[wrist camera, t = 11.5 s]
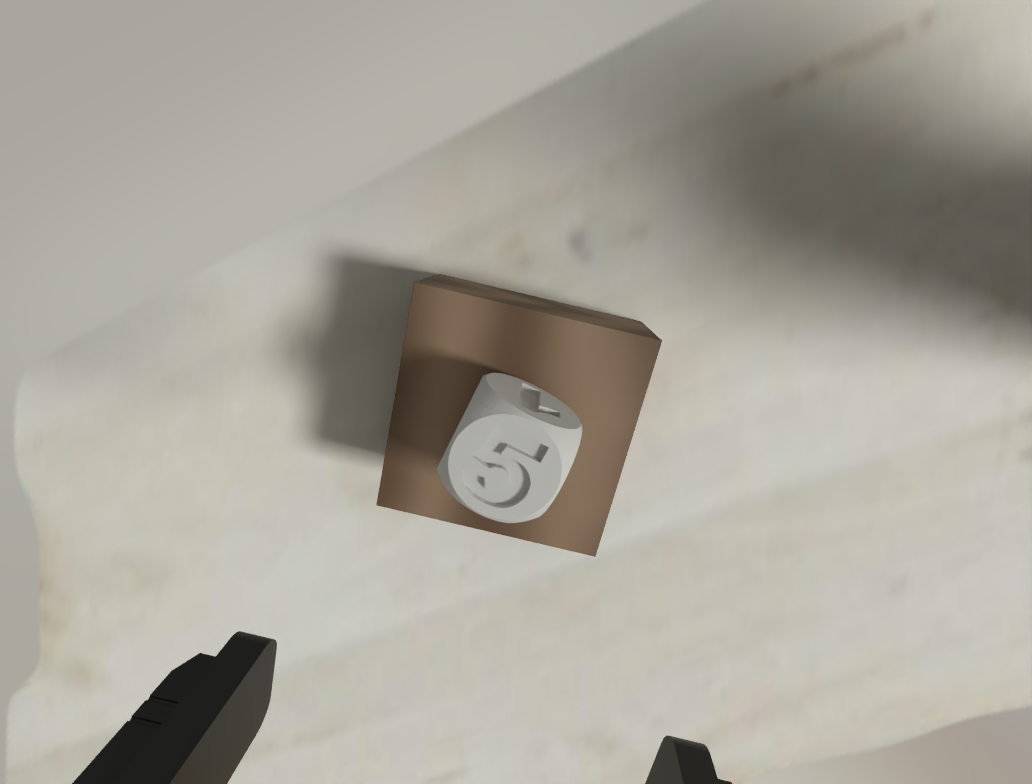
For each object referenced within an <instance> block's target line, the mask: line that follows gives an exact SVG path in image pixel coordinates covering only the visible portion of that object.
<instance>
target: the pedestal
mask: <svg viewBox="0 0 1032 784" xmlns="http://www.w3.org/2000/svg"><path fill="white" fill-rule="evenodd" d="M661 342H662V340H661V339H660V338H658V337H657V336H656V335H655V334H654V333H653V332H652V331H651V330H650V329H649V328H648V327H647V326H645V325H644V324H643V323H642V322H640V321H636V320H631V319H627V318H623V317H619V316H614V315H610V314H606V313H602V312H598V311H593V310H589V309H585V308H581V307H576V306H572V305H568V304H564V303H559V302H555V301H551V300H547V299H543V298H538V297H534V296H530V295H526V294H521V293H517V292H513V291H509V290H504V289H500V288H496V287H492V286H488V285H483V284H479V283H475V282H471V281H466V280H462V279H458V278H454V277H449V276H445V275H441V274H439V275H435V276H432V277H429V278H426V279H423V280H420V281H417V282H414V288H413V294H412V299H411V305H410V311H409V317H408V323H407V329H406V335H405V341H404V347H403V352H402V358H401V364H400V370H399V376H398V382H397V388H396V394H395V400H394V405H393V411H392V417H391V423H390V429H389V435H388V441H387V447H386V452H385V458H384V464H383V470H382V476H381V482H380V488H379V494H378V500H377V505H378V506H383V507H387V508H391V509H395V510H400V511H404V512H408V513H412V514H417V515H421V516H425V517H429V518H434V519H438V520H442V521H446V522H451V523H455V524H459V525H463V526H468V527H472V528H476V529H480V530H485V531H489V532H493V533H497V534H502V535H506V536H510V537H514V538H519V539H523V540H527V541H531V542H536V543H540V544H544V545H548V546H553V547H557V548H561V549H565V550H570V551H574V552H578V553H582V554H587V555H591V556H596V553H597V549H598V546H599V543H600V540H601V537H602V533H603V530H604V527H605V524H606V520H607V517H608V514H609V511H610V507H611V504H612V501H613V498H614V494H615V491H616V488H617V485H618V482H619V478H620V475H621V472H622V469H623V465H624V462H625V459H626V456H627V452H628V449H629V446H630V443H631V439H632V436H633V433H634V430H635V427H636V423H637V420H638V417H639V414H640V410H641V407H642V404H643V401H644V397H645V394H646V391H647V388H648V384H649V381H650V378H651V375H652V371H653V368H654V365H655V362H656V359H657V355H658V352H659V349H660V346H661ZM490 373H502V374H506V375H510V376H513V377H516V378H519V379H521V380H524V381H526V382H529V383H531V384H533V385H535V386H537V387H539V388H541V389H543V390H544V391H546V392H548V393H549V394H551V395H553V396H554V397H556V398H557V399H559V400H560V401H561V402H563V403H564V404H565V405H567V406H568V407H569V408H570V409H571V410H572V411H573V412H574V413H575V414H576V415H577V416H578V418H579V419H580V422H581V425H582V436H581V441H580V445H579V448H578V451H577V454H576V457H575V459H574V462H573V464H572V467H571V469H570V471H569V473H568V475H567V477H566V479H565V481H564V483H563V485H562V487H561V489H560V491H559V493H558V494H557V496H556V497H555V499H554V501H553V502H552V504H551V505H550V506H549V508H548V509H547V510H546V511H545V512H544V514H542V515H541V516H540V517H538V518H535V519H532V520H529V521H525V522H518V523H505V522H499V521H495V520H492V519H489V518H486V517H484V516H482V515H479V514H477V513H475V512H474V511H472V510H470V509H468V508H467V507H465V506H464V505H463V504H461V503H460V502H459V501H457V500H456V499H455V498H454V497H453V496H452V495H451V494H450V493H449V492H448V491H447V489H446V488H445V487H444V485H443V484H442V481H441V479H440V477H439V474H438V472H437V467H438V465H439V463H440V461H441V459H442V457H443V455H444V453H445V451H446V449H447V447H448V445H449V443H450V441H451V439H452V437H453V435H454V433H455V431H456V429H457V427H458V425H459V423H460V421H461V419H462V417H463V415H464V413H465V411H466V409H467V407H468V405H469V403H470V401H471V399H472V397H473V395H474V393H475V391H476V389H477V387H478V385H479V383H480V381H481V379H482V377H483V375H487V374H490Z"/></svg>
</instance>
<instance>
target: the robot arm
mask: <svg viewBox="0 0 1032 784" xmlns="http://www.w3.org/2000/svg"><path fill="white" fill-rule="evenodd" d="M276 649H277V642H276V640H274V639H270V638H266V637H261V636H257V635H253V634H249V633H245V632H240V631H239V632H237V633H235V634H234V635H233V636H232V637H231V638H230V640H229V641H228V642H227V643H226V645H225V646H224V647H223V648H222V650H221V651H220V652H219V653H218V655H217V656H216V657H214V656H210V655H206V654H202V653H199V654H198V655H196V656H195V657H193V658H191V659H190V660H188V661H187V662H185V663H184V664H182V665H180V666H179V667H177V668H176V669H174V670H172V671H171V672H170V673H169V675H168V676H167V677H166V678H165V679H164V680H163V681H162V682H161V684H160V685H159V686H158V687H157V688H156V689H155V690H154V692H153V693H152V694H151V695H150V698H149V699H148V700H146V701H145V702H144V703H143V704H142V705H141V706H140V707H139V709H138V710H137V711H136V712H135V713H134V714H133V715H132V718H131V720H130V721H127V722H126V723H125V724H124V726H123V727H122V728H121V729H120V730H119V731H118V732H117V733H116V735H115V736H114V737H113V738H112V739H111V740H110V741H109V743H108V744H107V745H106V746H105V747H104V748H103V749H102V750H101V752H100V753H99V754H98V755H97V756H96V757H95V758H94V760H93V761H92V762H91V763H90V764H89V765H88V766H87V768H86V769H85V770H84V771H83V772H82V773H81V774H80V775H79V777H78V778H77V779H76V780H75V781H74V782H73V783H72V784H227V783H228V781H229V779H230V778H231V776H232V774H233V773H234V771H235V769H236V768H237V766H238V764H239V763H240V761H241V759H242V758H243V756H244V754H245V753H246V751H247V749H248V748H249V746H250V744H251V743H252V741H253V739H254V738H255V736H256V734H257V732H258V730H259V729H260V727H261V724H262V722H263V720H264V717H265V715H266V712H267V709H268V706H269V702H270V697H271V690H272V681H273V673H274V665H275V657H276ZM645 784H732V783H731V782H728V781H724V780H720V779H718V778H717V775H716V772H715V769H714V765H713V762H712V759H711V755H710V753H709V750H708V748H707V747H706V746H705V745H704V744H701V743H697V742H693V741H688V740H684V739H680V738H676V737H672V736H666V737H664V739H663V741H662V743H661V745H660V748H659V750H658V753H657V755H656V758H655V761H654V763H653V766H652V768H651V771H650V773H649V776H648V778H647V781H646V783H645Z"/></svg>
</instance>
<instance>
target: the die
mask: <svg viewBox="0 0 1032 784" xmlns="http://www.w3.org/2000/svg"><path fill="white" fill-rule="evenodd" d="M581 436H582V425H581V422H580V419H579V418H578V416H577V415H576V414H575V413H574V412H573V411H572V410H571V409H570V408H569V407H568V406H567V405H565V404H564V403H563V402H561V401H560V400H559V399H557V398H556V397H554V396H553V395H551V394H549V393H548V392H546V391H544V390H543V389H541V388H539V387H537V386H535V385H533V384H531V383H529V382H526V381H524V380H521V379H519V378H516V377H513V376H510V375H506V374H502V373H490V374H487V375H483V377H482V379H481V381H480V383H479V385H478V387H477V389H476V391H475V393H474V395H473V397H472V399H471V401H470V403H469V405H468V407H467V409H466V411H465V413H464V415H463V417H462V419H461V421H460V423H459V425H458V427H457V429H456V431H455V433H454V435H453V437H452V439H451V441H450V443H449V445H448V447H447V449H446V451H445V453H444V455H443V457H442V459H441V461H440V463H439V465H438V467H437V472H438V474H439V477H440V479H441V481H442V484H443V485H444V487H445V488H446V489H447V491H448V492H449V493H450V494H451V495H452V496H453V497H454V498H455V499H456V500H457V501H459V502H460V503H461V504H463V505H464V506H465V507H467V508H468V509H470V510H472V511H474V512H475V513H477V514H479V515H482V516H484V517H486V518H489V519H492V520H495V521H499V522H505V523H518V522H525V521H529V520H532V519H535V518H538V517H540V516H541V515H542V514H544V512H545V511H546V510H547V509H548V508H549V506H550V505H551V504H552V502H553V501H554V499H555V497H556V496H557V494H558V493H559V491H560V489H561V487H562V485H563V483H564V481H565V479H566V477H567V475H568V473H569V471H570V469H571V467H572V464H573V462H574V459H575V457H576V454H577V451H578V448H579V445H580V441H581Z"/></svg>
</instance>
